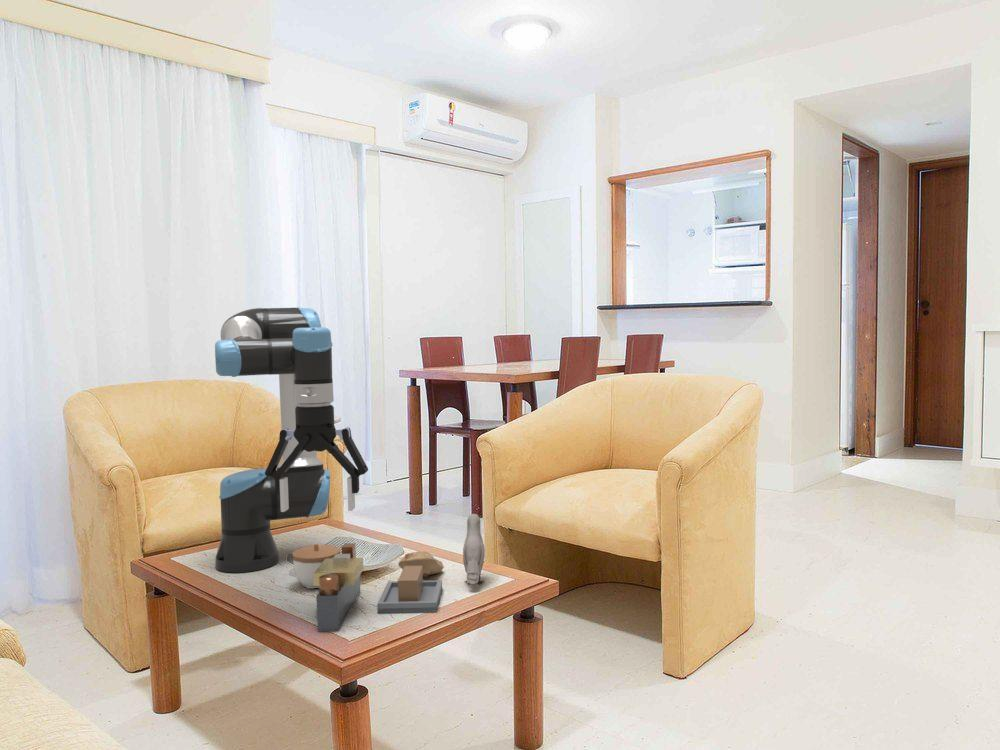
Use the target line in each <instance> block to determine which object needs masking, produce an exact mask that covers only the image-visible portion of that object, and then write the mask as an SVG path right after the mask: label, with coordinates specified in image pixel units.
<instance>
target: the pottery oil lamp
mask: <svg viewBox="0 0 1000 750" xmlns="http://www.w3.org/2000/svg"><path fill="white" fill-rule="evenodd" d="M404 566H423V578H425V577H428V576H429V575H430V576H431V575H437V574H440V573H442V571H443V569H444V568H445V567H444V565H443V562H442V561H440V560H439V559H437V558H436V557H434V556H433V555H432V554H431V553H429V552H427V551H424V550H420V551H413V552H410V553H405V555H404V556H403V557H402V558H401V559H400V561H399V562H398V567H399V568H400V569H402V570H403V568H404Z"/></svg>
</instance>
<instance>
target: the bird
mask: <svg viewBox="0 0 1000 750" xmlns="http://www.w3.org/2000/svg"><path fill="white" fill-rule="evenodd" d="M466 523H467V524H466V529H467V530H466V537H465V540H464V543H463V547H462V557H463V558H462V560H463V561H462V562H463V566H464V571H465V574H466V580H465V581H464V583H466V584H467V586H470V585H476V584H478V585H479V586H480V585H481V584H482V583H483V582H484V580H481V575H482V571H483V566H484V563H485V557H486V555H485V554H486V553H485V552H486V549H485V544H484V539H483V537H482V534H481V532H482V531H481V517H479V515H478V514H476V513H471V514H469V516H468V517H467V521H466Z"/></svg>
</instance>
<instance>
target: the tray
mask: <svg viewBox="0 0 1000 750" xmlns="http://www.w3.org/2000/svg"><path fill="white" fill-rule="evenodd" d="M442 591H443V580H442V579H440V580H437V579H436V580H434V579H433V580H431V579H429V580H424V577H423V566H404V568H403V569H402V571H401V572H400V575H399V577H398V579H397V580H392V581H391V580H389V581H387V583H386V584H385V587H384V590H383V591H382V593H381V595H380V597H379V599H378V602H377V606H376V607H377V614H409V613H410V614H413V613H414V614H415V613H422V614H423V613H424V614H425V613H437V611H438V608H439V604H440V601H441V600H440V599H441V596H442V593H443V592H442Z"/></svg>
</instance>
